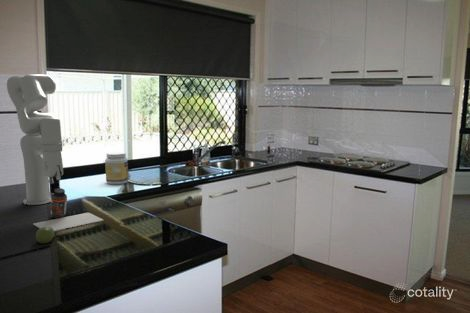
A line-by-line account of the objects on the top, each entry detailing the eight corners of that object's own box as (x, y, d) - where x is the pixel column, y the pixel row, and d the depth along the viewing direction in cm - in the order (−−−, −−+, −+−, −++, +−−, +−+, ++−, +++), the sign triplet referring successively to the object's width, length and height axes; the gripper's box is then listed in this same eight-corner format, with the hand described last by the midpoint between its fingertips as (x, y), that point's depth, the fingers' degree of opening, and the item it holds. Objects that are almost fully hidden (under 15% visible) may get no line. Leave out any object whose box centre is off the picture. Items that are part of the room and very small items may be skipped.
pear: (33, 229, 137) (40, 225, 147) (33, 245, 137) (41, 240, 147) (51, 228, 138) (57, 224, 148) (52, 244, 138) (58, 238, 148)
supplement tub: (129, 183, 231) (128, 154, 229) (107, 185, 227) (105, 155, 224) (127, 179, 243) (125, 151, 240) (105, 181, 238) (103, 152, 236)
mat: (33, 224, 160) (33, 223, 160) (88, 213, 175) (88, 212, 175) (46, 233, 150) (46, 232, 150) (103, 220, 164) (103, 219, 164)
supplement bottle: (49, 218, 166) (50, 193, 163) (51, 211, 172) (52, 186, 168) (65, 218, 168) (66, 193, 164) (67, 211, 173) (68, 187, 170)
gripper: (36, 147, 170) (39, 191, 172) (49, 150, 159) (52, 196, 161) (54, 146, 175) (58, 189, 177) (68, 148, 164) (71, 193, 166)
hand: (55, 192), depth 169 cm, fingers closed
